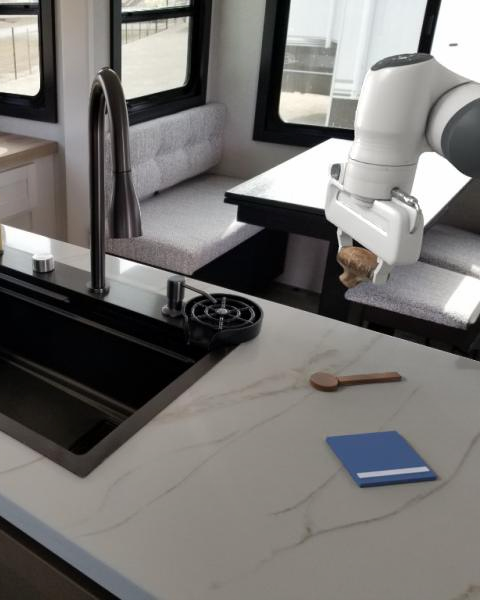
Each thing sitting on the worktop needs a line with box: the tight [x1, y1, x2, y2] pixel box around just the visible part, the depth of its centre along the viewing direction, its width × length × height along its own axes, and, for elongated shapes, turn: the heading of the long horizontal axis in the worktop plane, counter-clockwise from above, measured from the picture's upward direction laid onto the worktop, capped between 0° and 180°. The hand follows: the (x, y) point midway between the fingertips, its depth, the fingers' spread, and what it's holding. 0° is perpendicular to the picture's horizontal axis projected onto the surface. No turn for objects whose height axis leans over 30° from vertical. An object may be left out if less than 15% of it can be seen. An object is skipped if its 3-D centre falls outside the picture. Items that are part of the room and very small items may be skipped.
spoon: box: [309, 371, 402, 393], centre depth 98 cm, size 14×4×1 cm, turn 97°
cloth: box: [325, 430, 438, 488], centre depth 82 cm, size 10×9×1 cm
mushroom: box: [336, 246, 391, 290], centre depth 95 cm, size 8×8×6 cm
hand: (360, 269), depth 95 cm, fingers closed on mushroom, 8 cm apart
